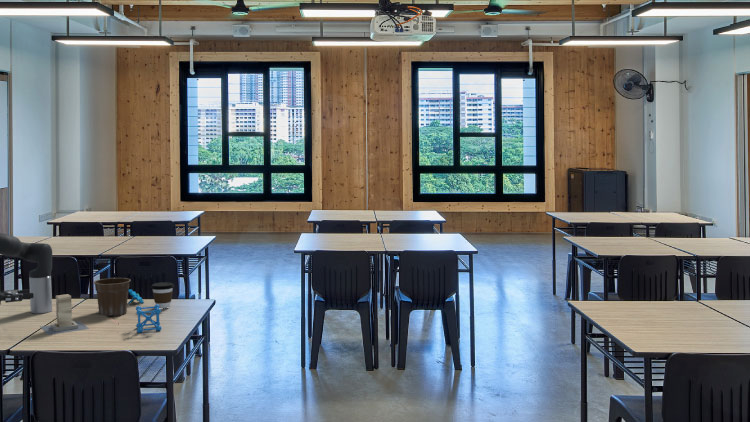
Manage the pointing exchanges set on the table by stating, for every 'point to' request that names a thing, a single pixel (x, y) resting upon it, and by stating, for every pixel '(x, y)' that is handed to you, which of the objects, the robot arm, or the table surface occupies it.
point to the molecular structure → (148, 318)
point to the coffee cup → (162, 293)
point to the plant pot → (112, 296)
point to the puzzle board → (64, 328)
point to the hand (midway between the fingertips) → (31, 293)
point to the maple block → (63, 310)
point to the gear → (135, 296)
